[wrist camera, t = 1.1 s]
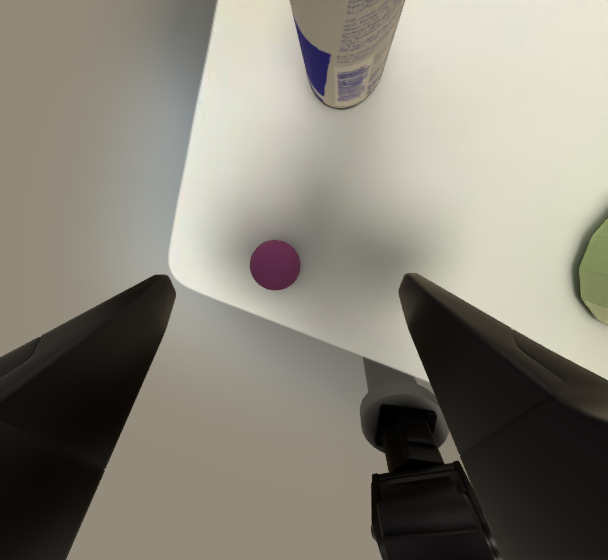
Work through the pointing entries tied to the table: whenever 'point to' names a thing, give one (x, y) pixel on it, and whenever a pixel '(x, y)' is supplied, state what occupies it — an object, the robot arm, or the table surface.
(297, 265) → the ball
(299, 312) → the table surface
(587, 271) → the green bowl
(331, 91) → the beverage can
